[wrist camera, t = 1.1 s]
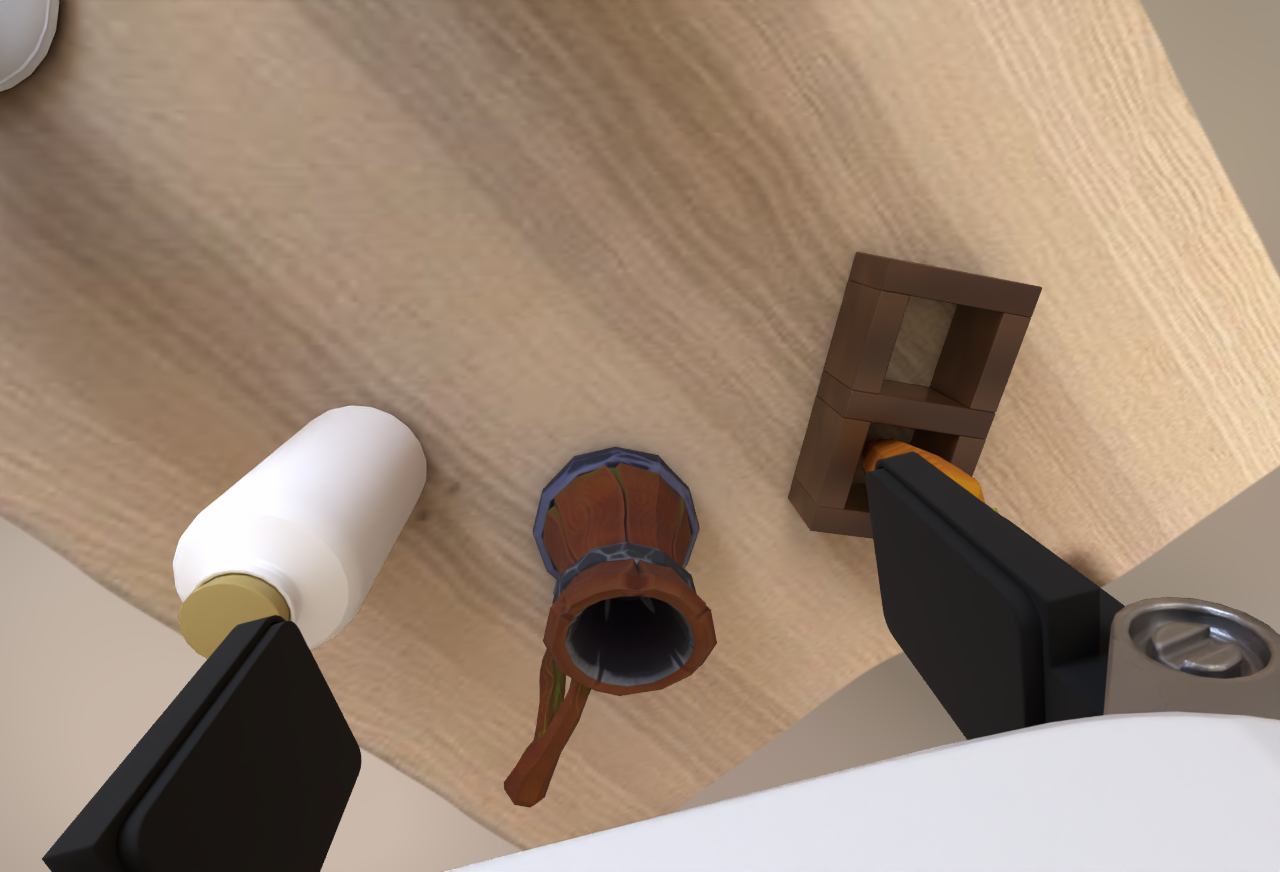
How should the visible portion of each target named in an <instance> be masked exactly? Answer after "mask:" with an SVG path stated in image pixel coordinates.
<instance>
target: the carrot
mask: <svg viewBox="0 0 1280 872" xmlns="http://www.w3.org/2000/svg"><path fill="white" fill-rule="evenodd" d="M911 451H914V452H916V453H918V454H919V455H920V456H922V457H923V458H924V459H926V460H927V461H928V462H930V463H931V464H933V465H934V466H935V467H937V468H938V469H939V470H941V471H942V472H943V473H945V474H946V475H947V476H949V477H950V478H951V479H953V480H954V481H955V482H957V483H958V484H959V485H961V486H962V487H964V488H965V489H966V490H968V491H969V492H970V493H972V494H973V495H974V496H976V497H977V498H978V499H980V500H981V501H982V502H984V498H983V494H982V490H981V486H980V484H979V483H978V481H977V480H975V479H974V478H973V477H971V476H970V475H968V474H967V473H965V472H964V471H962V470H961V469H959V468H958V467H956V466H954V465H953V464H951V463H949V462H948V461H946V460H944V459H943V458H941V457H939V456H937V455H935V454H932V453H930V452H927V451H925V450H922V449H919V448H917V447H914V446H912V445H909V444H906V443H904V442H901V441H898V440H894V439H878V440H874V441H871V442H869V443H866V445H865V447H864V449H863V452H862V456H861V458H862V466H863V469H864V472H865V475H866V474H867V472H870V471H873V470H875V463H876V462H877V460H880V459H884V458H888V457H892V456H896V455H900V454H904V453H907V452H911ZM984 503H985V502H984ZM992 509H993V510H994V511H996V512H997V513H998V511H997V508H992Z"/></svg>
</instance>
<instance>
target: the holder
mask: <svg viewBox="0 0 1280 872" xmlns="http://www.w3.org/2000/svg"><path fill="white" fill-rule="evenodd" d="M1041 290H1042V287H1039V286H1034V285H1029V284H1024V283H1019V282H1014V281H1008V280H1003V279H998V278H993V277H988V276H983V275H977V274H972V273H967V272H961V271H956V270H951V269H946V268H940V267H935V266H930V265H924V264H919V263H914V262H909V261H903V260H898V259H893V258H887V257H882V256H877V255H871V254H866V253H861V252H856V255H855V259H854V262H853V266H852V269H851V273H850V277H849V281H848V284H847V287H846V291H845V294H844V298H843V302H842V305H841V309H840V312H839V316H838V320H837V323H836V327H835V330H834V334H833V338H832V341H831V345H830V349H829V352H828V356H827V359H826V363H825V367H824V371H823V374H822V378H821V382H820V385H819V389H818V392H817V396H816V399H815V402H814V406H813V409H812V413H811V417H810V420H809V424H808V427H807V431H806V435H805V438H804V442H803V446H802V449H801V453H800V456H799V460H798V464H797V467H796V471H795V474H794V475H795V476H794V478H793V482H792V485H791V489H790V493H789V496H788V498H789V500H790V501H791V503H792V504H793V506H794V507H795V509H796V510H797V512H798V513H799V515H800V516H801V517H802V519H803V520H804V522H805V523H806V525H807V526H808V528H809V529H810V530H811V531H817V532H825V533H833V534H841V535H849V536H857V537H865V538H873V532H872V524H871V517H870V509H869V502H868V495H867V487H866V485H860V484H853V483H852V481H853V478H854V475H855V471H856V468H857V465H858V462H859V458H860V455H861V452H862V449H863V445H864V442H865V439H866V436H867V433H868V429H869V426H870V422H874V423H881V424H887V425H894V426H901V427H907V428H914V429H916V431H915V434H914V437H913V440H912V443H911V445H912V446H914V447H917V448H919V449H922V450H925V451H927V452H930V453H932V454H935V455H937V456H939V457H941V458H943V459H944V460H946V461H948V462H949V463H951V464H953V465H954V466H956V467H958V468H959V469H961V470H962V471H964V472H965V473H967V474H968V475H970V476H971V477H972V475H973V473H974V470H975V467H976V465H977V462H978V459H979V457H980V454H981V451H982V449H983V446H984V443H985V439H986V437H987V434H988V432H989V429H990V426H991V424H992V421H993V418H994V416H995V413H994V412H996V411H997V408H998V405H999V403H1000V400H1001V397H1002V395H1003V392H1004V389H1005V386H1006V384H1007V381H1008V378H1009V376H1010V373H1011V370H1012V368H1013V365H1014V362H1015V360H1016V357H1017V354H1018V352H1019V349H1020V346H1021V344H1022V341H1023V338H1024V336H1025V333H1026V330H1027V328H1028V325H1029V322H1030V319H1031V318H1030V317H1032V314H1033V312H1034V309H1035V306H1036V303H1037V301H1038V298H1039V295H1040V293H1041ZM909 296H915V297H920V298H926V299H932V300H937V301H943V302H948V303H954V304H958V306H957V309H956V312H955V315H954V318H953V321H952V324H951V327H950V330H949V333H948V336H947V338H946V341H945V344H944V347H943V350H942V353H941V356H940V359H939V362H938V365H937V368H936V371H935V374H934V377H933V380H932V383H931V387H926V386H919V385H913V384H907V383H901V382H895V381H888V380H884V377H885V374H886V371H887V367H888V364H889V361H890V358H891V354H892V351H893V348H894V345H895V342H896V338H897V335H898V332H899V329H900V325H901V322H902V319H903V316H904V312H905V309H906V306H907V303H908V300H909Z"/></svg>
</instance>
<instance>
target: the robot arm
mask: <svg viewBox="0 0 1280 872" xmlns="http://www.w3.org/2000/svg"><path fill="white" fill-rule="evenodd" d="M866 487H867V495H868V502H869V509H870V517H871V524H872V532H873V539H874V546H875V554H876V561H877V569H878V576H879V584H880V591H881V598H882V606H883V612H884V617H885V620H886V623H887V626H888V628H889V630H890V632H891V634H892V635H893V637H894V638H895V640H896V641H897V643H898V644H899V645H900V647H901V648H902V650H903V651H904V652H905V654H906V655H907V657H908V658H909V659H910V661H911V662H912V664H913V665H914V666H915V668H916V669H917V670H918V672H919V673H920V675H921V676H922V677H923V679H924V680H925V682H926V683H927V684H928V686H929V687H930V689H931V690H932V691H933V693H934V694H935V695H936V697H937V698H938V700H939V701H940V703H941V704H942V705H943V707H944V708H945V709H946V711H947V712H948V714H949V715H950V716H951V718H952V719H953V721H954V722H955V723H956V725H957V726H958V727H959V729H960V730H961V732H962V733H963V735H964V736H965V737H966V738H967V740H966V741H962V742H957V743H953V744H947V745H943V746H939V747H934V748H930V749H927V750H922V751H918V752H914V753H910V754H907V755H902V756H898V757H894V758H891V759H886V760H882V761H878V762H874V763H870V764H866V765H862V766H858V767H854V768H850V769H846V770H842V771H838V772H834V773H830V774H826V775H822V776H818V777H814V778H810V779H806V780H802V781H797V782H794V783H789V784H785V785H781V786H777V787H774V788H770V789H765V790H761V791H757V792H753V793H749V794H745V795H741V796H737V797H734V798H729V799H725V800H721V801H717V802H713V803H709V804H705V805H702V806H698V807H694V808H690V809H686V810H682V811H678V812H674V813H670V814H666V815H662V816H658V817H654V818H650V819H647V820H643V821H639V822H635V823H631V824H627V825H623V826H619V827H615V828H611V829H607V830H603V831H599V832H596V833H592V834H588V835H584V836H580V837H576V838H572V839H568V840H564V841H560V842H556V843H552V844H549V845H545V846H541V847H537V848H533V849H529V850H525V851H521V852H517V853H513V854H510V855H505V856H501V857H498V858H494V859H490V860H486V861H482V862H478V863H475V864H471V865H466V866H462V867H458V868H454V869H450V870H446V871H442V872H1280V635H1279V634H1278V633H1277V632H1276V631H1274V630H1273V629H1272V628H1271V627H1270V626H1269V625H1267V624H1265V623H1264V622H1262V621H1259V620H1258V619H1256V618H1254V617H1252V616H1250V615H1249V614H1247V613H1245V612H1242V611H1239V610H1236V609H1233V608H1230V607H1228V606H1225V605H1222V604H1218V603H1213V602H1209V601H1204V600H1199V599H1194V598H1178V597H1161V598H1152V599H1144V600H1141V601H1138V602H1135V603H1132V604H1129V605H1127V606H1124V605H1123V604H1121V603H1120V602H1119V601H1117V600H1116V599H1115V598H1113V597H1112V596H1111V595H1109V594H1108V593H1107V592H1105V591H1104V590H1102V589H1101V588H1100V587H1098V586H1097V585H1096V584H1094V583H1093V582H1092V581H1090V580H1089V579H1088V578H1086V577H1085V576H1084V575H1082V574H1081V573H1080V572H1078V571H1077V570H1075V569H1074V568H1073V567H1071V566H1070V565H1069V564H1067V563H1066V562H1065V561H1063V560H1062V559H1061V558H1059V557H1058V556H1057V555H1055V554H1054V553H1052V552H1051V551H1050V550H1048V549H1047V548H1046V547H1044V546H1043V545H1042V544H1040V543H1039V542H1038V541H1036V540H1035V539H1034V538H1032V537H1031V536H1030V535H1028V534H1027V533H1025V532H1024V531H1023V530H1021V529H1020V528H1019V527H1017V526H1016V525H1015V524H1013V523H1012V522H1011V521H1009V520H1008V519H1006V518H1004V517H1003V516H1001V515H1000V514H999V513H997V512H996V511H994V510H993V509H992V508H990V507H989V506H988V505H986V504H985V503H984V502H982V501H981V500H980V499H978V498H977V497H976V496H974V495H973V494H972V493H970V492H969V491H968V490H966V489H965V488H964V487H962V486H961V485H959V484H958V483H957V482H955V481H954V480H953V479H951V478H950V477H949V476H947V475H946V474H945V473H943V472H942V471H941V470H939V469H938V468H937V467H935V466H934V465H933V464H931V463H930V462H928V461H927V460H926V459H924V458H923V457H922V456H920V455H919V454H918V453H916V452H914V451H911V452H907V453H904V454H900V455H896V456H892V457H888V458H884V459H880V460H877V462H876V463H875V470H873V471H870V472H867V474H866ZM360 768H361V752H360V748H359V746H358V744H357V742H356V740H355V738H354V736H353V734H352V732H351V730H350V728H349V726H348V724H347V722H346V720H345V718H344V716H343V714H342V712H341V710H340V708H339V706H338V704H337V702H336V700H335V698H334V696H333V694H332V692H331V690H330V688H329V686H328V685H327V683H326V681H325V679H324V677H323V675H322V673H321V671H320V669H319V667H318V665H317V663H316V661H315V659H314V657H313V655H312V653H311V651H310V649H309V647H308V645H307V643H306V641H305V639H304V637H303V635H302V633H301V631H300V629H299V628H298V626H297V625H296V624H295V623H294V622H292V621H286V620H285V619H284V618H282V617H281V616H278V615H273V616H269V617H265V618H261V619H257V620H254V621H250V622H246V623H242V624H238V625H237V626H236V627H234V628H233V629H232V631H231V632H230V633H229V634H228V635H227V637H226V638H225V639H224V640H223V641H222V643H221V644H220V645H219V646H218V647H217V649H216V650H215V651H214V652H213V653H212V655H211V656H210V657H209V658H208V659H207V661H206V662H205V663H204V664H203V665H202V667H201V668H200V669H199V670H198V671H197V673H196V674H195V675H194V676H193V678H192V679H191V680H190V681H189V682H188V684H187V685H186V686H185V687H184V688H183V690H182V691H181V692H180V693H179V694H178V696H177V697H176V698H175V699H174V700H173V702H172V703H171V704H170V705H169V706H168V708H167V709H166V710H165V711H164V712H163V714H162V715H161V716H160V717H159V718H158V720H157V721H156V722H155V723H154V724H153V726H152V727H151V728H150V729H149V730H148V732H147V733H146V734H145V735H144V736H143V738H142V739H141V740H140V741H139V742H138V744H137V745H136V746H135V747H134V749H133V750H132V751H131V752H130V753H129V755H128V756H127V757H126V758H125V760H124V761H123V762H122V763H121V764H120V765H119V767H118V768H117V769H116V770H115V771H114V773H113V774H112V775H111V776H110V777H109V779H108V780H107V781H106V782H105V783H104V785H103V786H102V787H101V788H100V789H99V791H98V792H97V793H96V795H95V796H94V797H93V798H92V799H91V800H90V801H89V803H88V804H87V805H86V806H85V808H84V809H83V810H82V811H81V812H80V814H79V815H78V816H77V817H76V818H75V820H74V821H73V822H72V823H71V824H70V826H69V827H68V828H67V829H66V830H65V832H64V833H63V834H62V835H61V836H60V838H59V839H58V840H57V841H56V842H55V844H54V845H53V846H52V847H51V848H50V850H49V851H48V852H47V853H46V855H45V856H44V857H43V858H42V860H43V861H44V862H45V864H46V865H47V866H48V868H49V869H50V870H51V871H52V872H320V870H321V868H322V866H323V863H324V860H325V858H326V855H327V853H328V850H329V848H330V845H331V843H332V840H333V838H334V835H335V832H336V830H337V828H338V825H339V823H340V820H341V818H342V815H343V812H344V810H345V808H346V805H347V802H348V800H349V797H350V795H351V792H352V790H353V787H354V785H355V782H356V780H357V777H358V775H359V772H360Z"/></svg>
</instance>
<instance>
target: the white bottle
mask: <svg viewBox="0 0 1280 872" xmlns="http://www.w3.org/2000/svg"><path fill="white" fill-rule="evenodd" d="M425 482H426V458H425V455H424V452H423V449H422V447H421V444H420V442H419V441H418V439H417V438H416V437H415V435H414V434H413V433H412V431H411V430H410V429H409V427H407V426H406V425H405V424H403V423H402V422H401V421H399V420H398V419H397V418H395V417H394V416H393V415H391V414H388V413H386V412H383V411H381V410H378V409H375V408H373V407H364V406H352V405H350V406H346V407H341V408H336V409H331V410H328V411H327V412H325V413H323V414H322V415H320V416H318V417H317V418H315V419H313V420H312V421H310V422H309V423H308V424H307V425H306V426H304V427H303V428H302V429H301V430H300V431H298V432H297V433H296V434H295V435H294V436H292V437H291V438H290V439H289V440H288V441H286V442H285V443H284V444H283V445H281V446H280V447H279V448H278V449H277V450H275V451H274V452H273V453H272V454H271V455H269V456H268V457H267V458H266V459H265V460H263V461H262V462H261V463H260V464H259V465H257V466H256V467H255V468H254V469H253V470H251V471H250V472H249V473H248V474H246V475H245V476H244V477H243V478H242V479H240V480H239V481H238V482H237V483H236V484H234V485H233V486H232V487H231V488H230V489H228V490H227V491H226V492H225V493H224V494H222V495H221V496H220V497H219V498H218V499H216V500H215V501H214V502H213V503H211V504H210V505H209V506H208V507H207V508H205V509H204V510H203V511H202V512H201V513H199V514H198V516H197V517H196V518H195V520H194V521H193V522H192V523H191V525H190V526H189V527H188V528H187V530H186V531H185V532H184V533H183V535H182V536H181V538H180V540H179V542H178V546H177V550H176V553H175V557H174V561H173V571H174V578H175V586H176V590H177V593H178V595H179V597H180V599H181V601H182V602H183V603H182V605H181V609H180V612H179V616H178V619H179V626H180V631H181V633H182V634H183V636H184V638H185V640H186V642H187V643H188V644H189V645H190V646H191V647H192V648H193V649H194V650H195V651H196V652H197V653H198V654H200V655H202V656H204V657H205V658H207V659H208V658H209V657H210V656H211V655H212V653H213V652H214V651H215V650H216V649H217V647H218V646H219V645H220V644H221V643H222V641H223V640H224V639H225V638H226V637H227V635H228V634H229V633H230V632H231V631H232V629H233V628H234V627H236V626H237V625H238V624H242V623H246V622H250V621H254V620H257V619H261V618H265V617H269V616H273V615H278V616H281V617H282V618H284V619H285V620H286V621H292V622H294V623H295V624H296V625H297V626H298V628H299V629H300V631H301V633H302V635H303V637H304V639H305V641H306V643H307V645H308V647H309V649H314V648H316V647H317V646H319V645H321V644H323V643H325V642H327V641H328V640H330V639H332V638H334V637H336V636H337V635H338V634H339V633H340V632H341V631H342V630H343V629H344V627H345V626H346V625H347V624H348V623H349V622H350V621H351V620H352V619H353V617H354V616H355V615H356V614H357V613H358V611H359V609H360V607H361V605H362V603H363V602H364V600H365V598H366V596H367V594H368V592H369V590H370V589H371V587H372V585H373V583H374V581H375V579H376V577H377V576H378V574H379V572H380V570H381V568H382V566H383V564H384V563H385V561H386V559H387V557H388V555H389V553H390V551H391V550H392V548H393V546H394V544H395V542H396V540H397V538H398V537H399V535H400V533H401V531H402V529H403V527H404V525H405V524H406V522H407V520H408V518H409V516H410V514H411V512H412V511H413V509H414V507H415V505H416V503H417V501H418V499H419V497H420V495H421V493H422V490H423V487H424V485H425Z"/></svg>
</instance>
